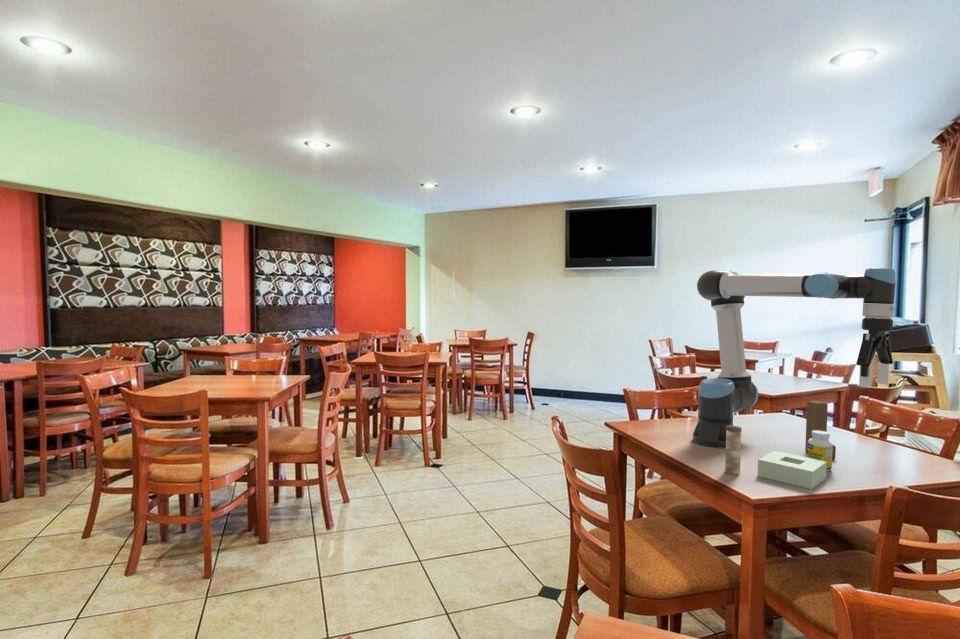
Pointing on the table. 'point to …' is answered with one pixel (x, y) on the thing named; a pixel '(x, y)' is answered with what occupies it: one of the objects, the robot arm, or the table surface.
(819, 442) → the pill bottle
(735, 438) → the dowel
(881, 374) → the robot arm
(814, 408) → the wooden block
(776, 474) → the socket block
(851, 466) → the table surface
